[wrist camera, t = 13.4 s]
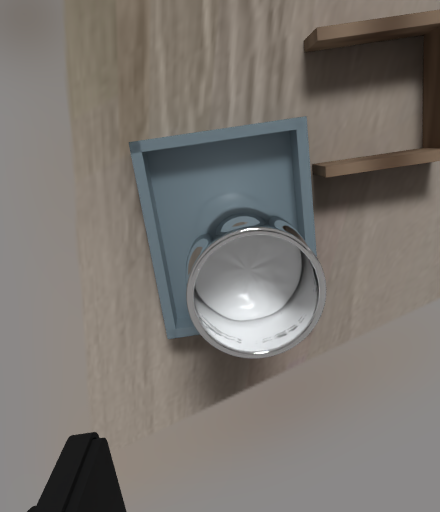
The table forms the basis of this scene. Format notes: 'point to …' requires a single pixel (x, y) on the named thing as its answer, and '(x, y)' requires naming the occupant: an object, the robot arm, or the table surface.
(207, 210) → the silver metal cup
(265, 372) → the table surface
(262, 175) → the slate tray
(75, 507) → the robot arm
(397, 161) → the walnut bay
